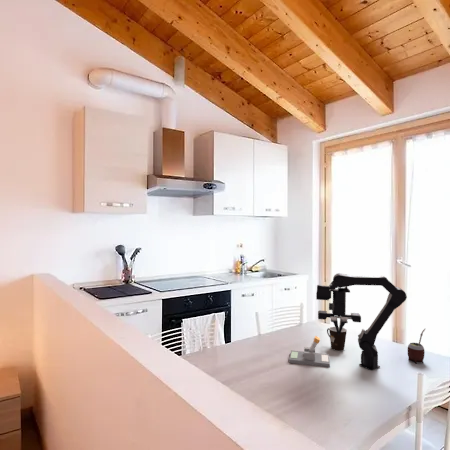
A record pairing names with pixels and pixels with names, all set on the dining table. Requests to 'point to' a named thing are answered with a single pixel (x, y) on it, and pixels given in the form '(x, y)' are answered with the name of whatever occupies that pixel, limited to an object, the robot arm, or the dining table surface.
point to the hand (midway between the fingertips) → (338, 334)
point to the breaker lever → (314, 344)
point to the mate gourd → (416, 351)
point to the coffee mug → (337, 338)
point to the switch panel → (310, 362)
